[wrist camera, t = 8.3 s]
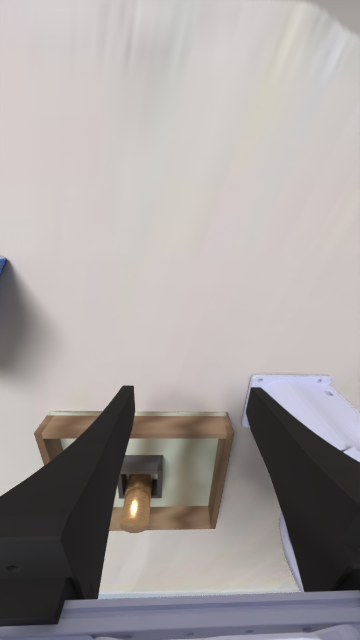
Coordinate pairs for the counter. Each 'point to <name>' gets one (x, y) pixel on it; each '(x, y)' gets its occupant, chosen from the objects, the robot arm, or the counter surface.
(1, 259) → the medicine box
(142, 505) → the bronze metal cylinder
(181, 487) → the walled box
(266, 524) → the counter surface
